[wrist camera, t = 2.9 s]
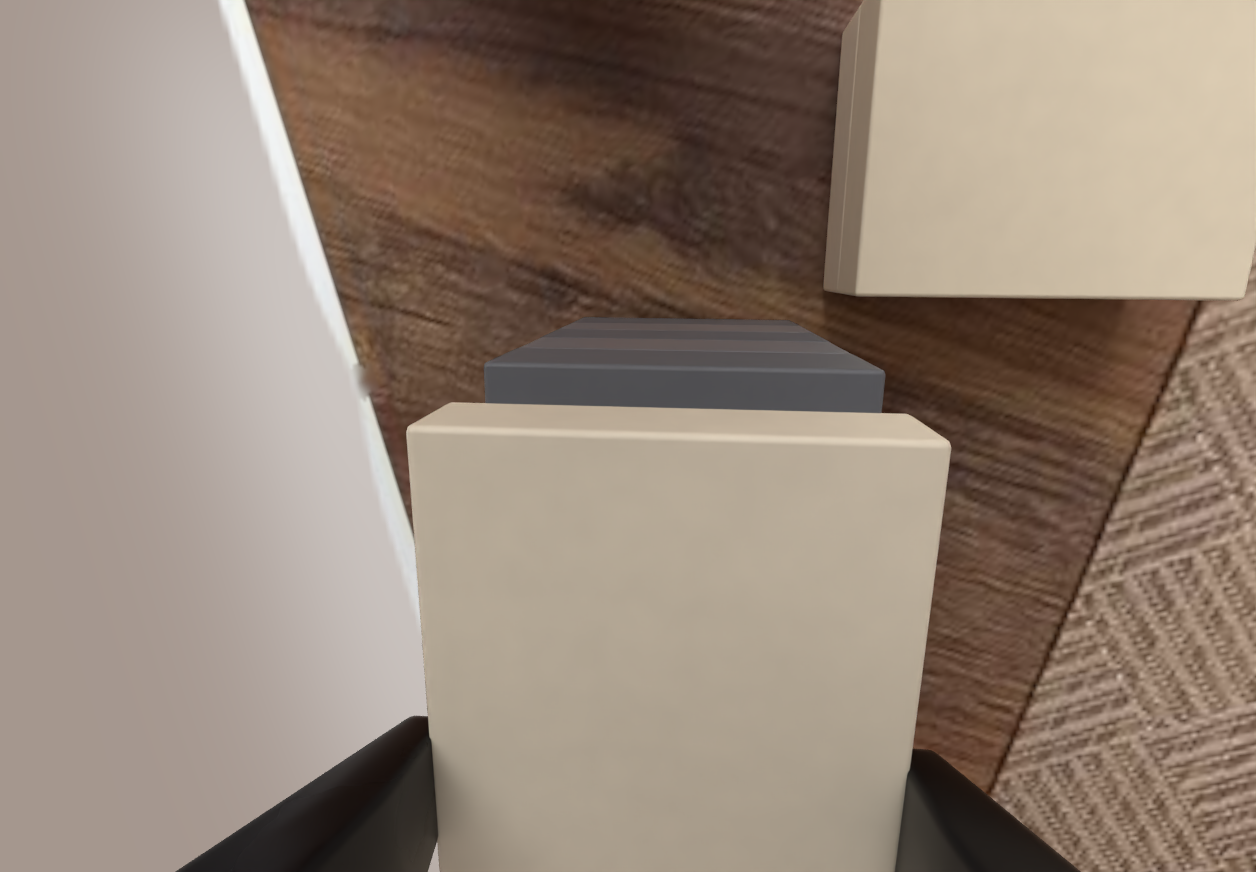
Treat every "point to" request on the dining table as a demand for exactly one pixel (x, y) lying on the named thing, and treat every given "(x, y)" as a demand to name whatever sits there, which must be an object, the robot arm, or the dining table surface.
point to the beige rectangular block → (1045, 150)
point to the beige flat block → (672, 633)
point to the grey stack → (686, 367)
